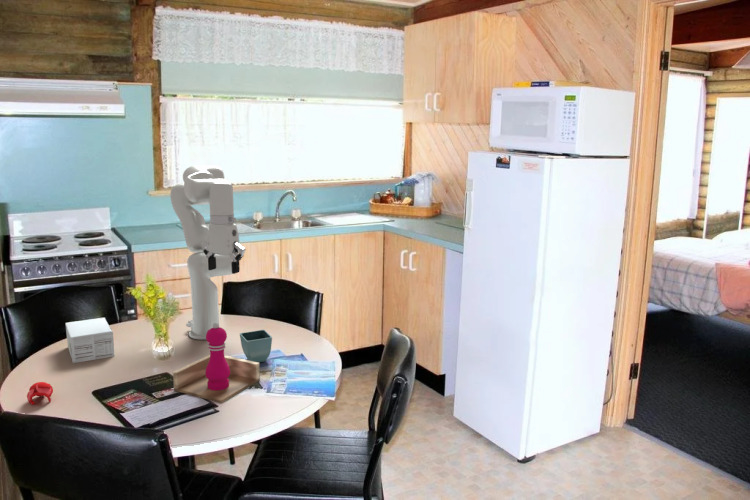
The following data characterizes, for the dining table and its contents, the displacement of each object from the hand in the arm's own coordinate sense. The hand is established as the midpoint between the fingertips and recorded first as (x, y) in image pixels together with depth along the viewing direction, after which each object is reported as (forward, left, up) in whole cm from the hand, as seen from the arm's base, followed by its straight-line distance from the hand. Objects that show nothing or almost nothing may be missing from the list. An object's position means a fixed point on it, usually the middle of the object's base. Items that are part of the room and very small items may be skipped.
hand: (223, 271), depth 207 cm
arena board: (+12, -19, -30) cm, 38 cm away
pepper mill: (+14, -21, -30) cm, 39 cm away
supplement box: (-45, -18, -31) cm, 57 cm away
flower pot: (+10, +3, -31) cm, 32 cm away
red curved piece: (-25, -51, -31) cm, 65 cm away
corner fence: (+12, -19, -30) cm, 38 cm away
